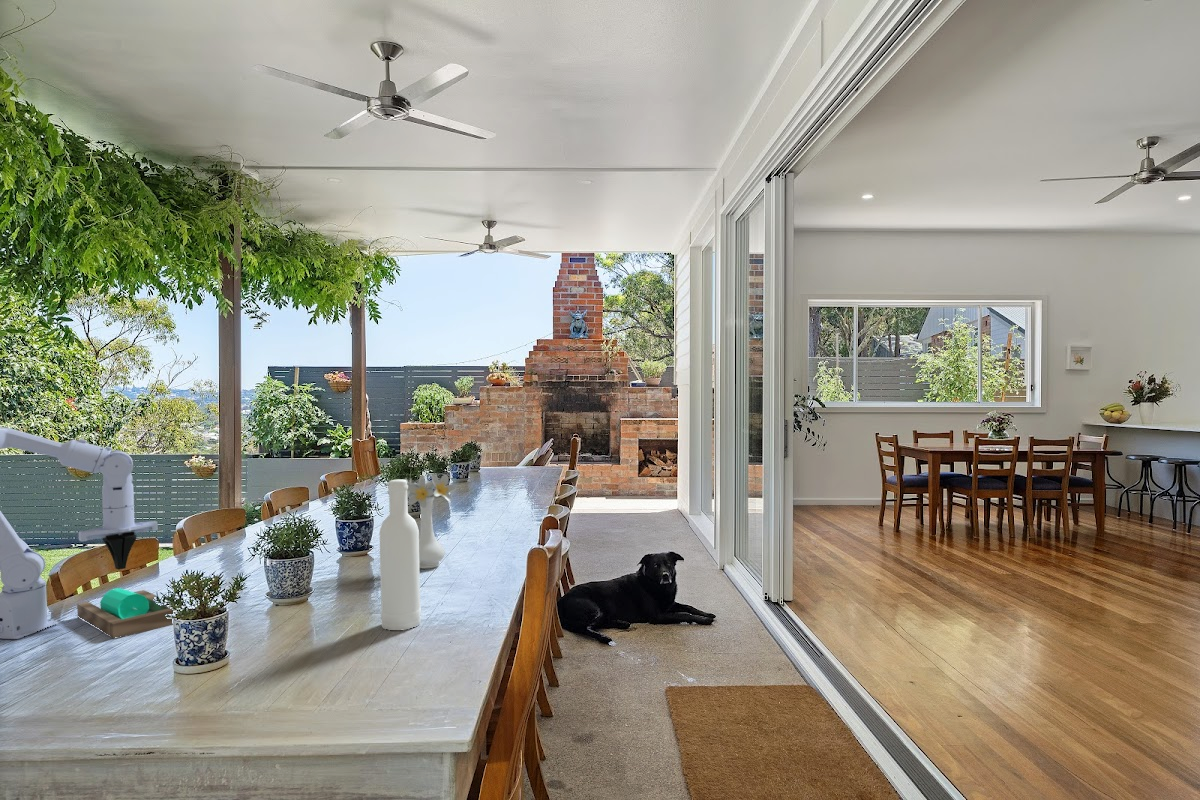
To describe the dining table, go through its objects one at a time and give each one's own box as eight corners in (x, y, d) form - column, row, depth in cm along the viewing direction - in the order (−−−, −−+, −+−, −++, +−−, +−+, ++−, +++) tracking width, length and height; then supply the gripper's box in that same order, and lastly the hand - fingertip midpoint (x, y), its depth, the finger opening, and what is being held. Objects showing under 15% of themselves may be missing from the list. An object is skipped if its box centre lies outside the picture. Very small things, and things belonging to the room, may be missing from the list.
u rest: (77, 617, 159) (77, 604, 159) (144, 602, 169) (143, 590, 169) (113, 639, 145) (113, 624, 145) (183, 621, 155) (183, 607, 155)
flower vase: (397, 560, 205) (395, 472, 205) (463, 560, 205) (461, 471, 204) (383, 573, 192) (381, 478, 192) (453, 572, 192) (451, 477, 191)
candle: (105, 621, 159) (126, 629, 151) (95, 596, 158) (116, 603, 150) (135, 607, 163) (156, 614, 156) (125, 583, 162) (146, 589, 155)
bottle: (410, 632, 146) (406, 483, 146) (374, 630, 148) (370, 482, 147) (427, 619, 154) (424, 477, 153) (393, 617, 156) (389, 477, 155)
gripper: (85, 513, 151) (87, 578, 152) (162, 503, 163) (163, 564, 163) (74, 509, 156) (76, 573, 156) (150, 500, 167) (151, 559, 167)
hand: (120, 568), depth 160 cm, fingers closed
